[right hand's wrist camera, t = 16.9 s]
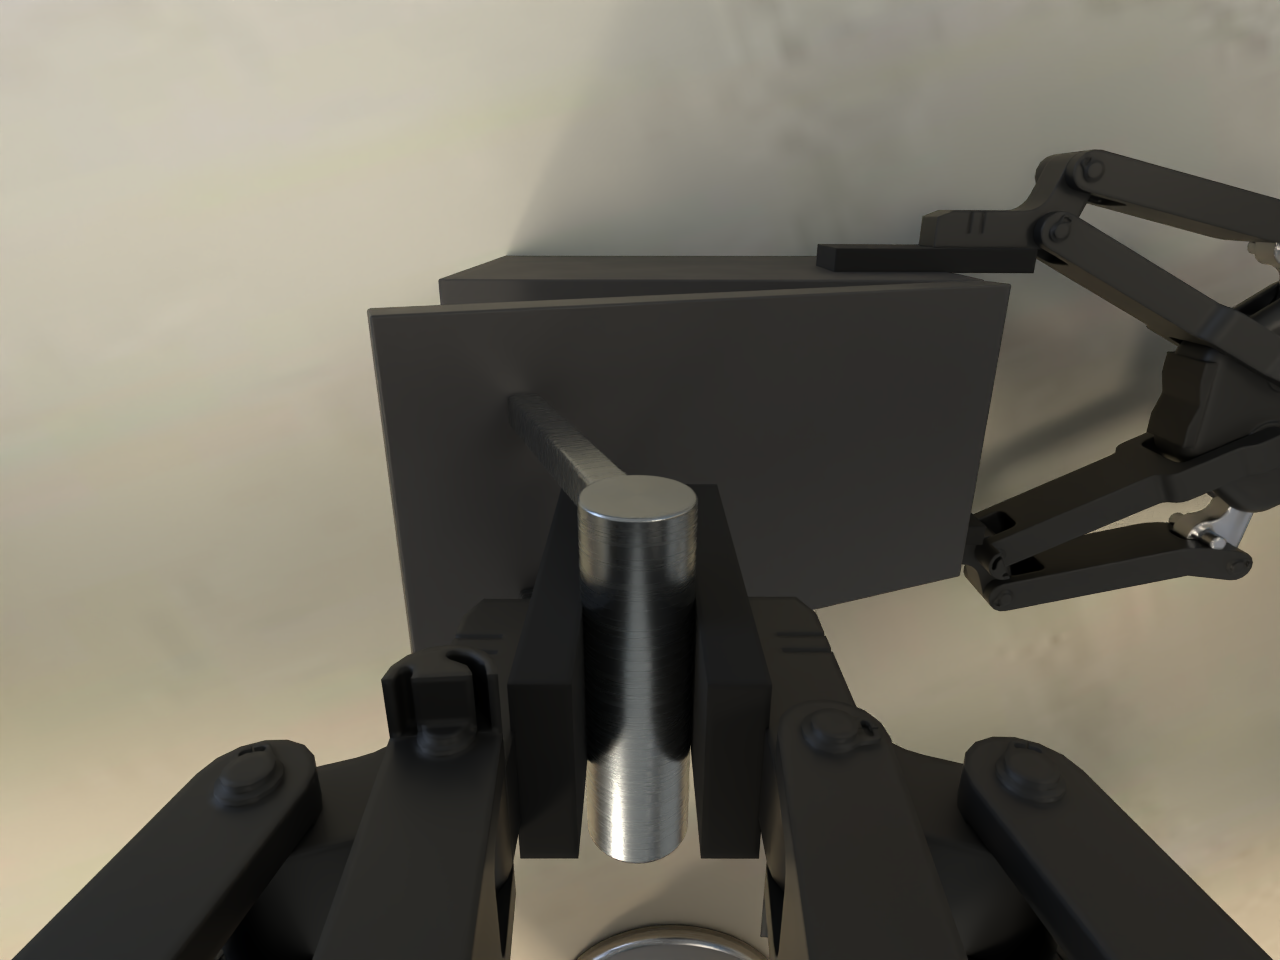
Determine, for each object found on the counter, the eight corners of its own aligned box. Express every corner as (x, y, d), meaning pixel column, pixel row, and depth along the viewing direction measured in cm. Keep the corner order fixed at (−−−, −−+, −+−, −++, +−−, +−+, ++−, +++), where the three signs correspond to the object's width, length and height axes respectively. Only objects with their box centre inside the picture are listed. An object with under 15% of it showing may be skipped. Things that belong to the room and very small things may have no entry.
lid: (413, 673, 18) (475, 1007, 11) (366, 308, 15) (405, 412, 7) (933, 561, 24) (1212, 724, 17) (978, 280, 21) (1351, 322, 13)
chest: (516, 455, 34) (464, 558, 24) (503, 255, 31) (437, 279, 21) (853, 456, 34) (939, 559, 24) (875, 256, 31) (985, 279, 21)
